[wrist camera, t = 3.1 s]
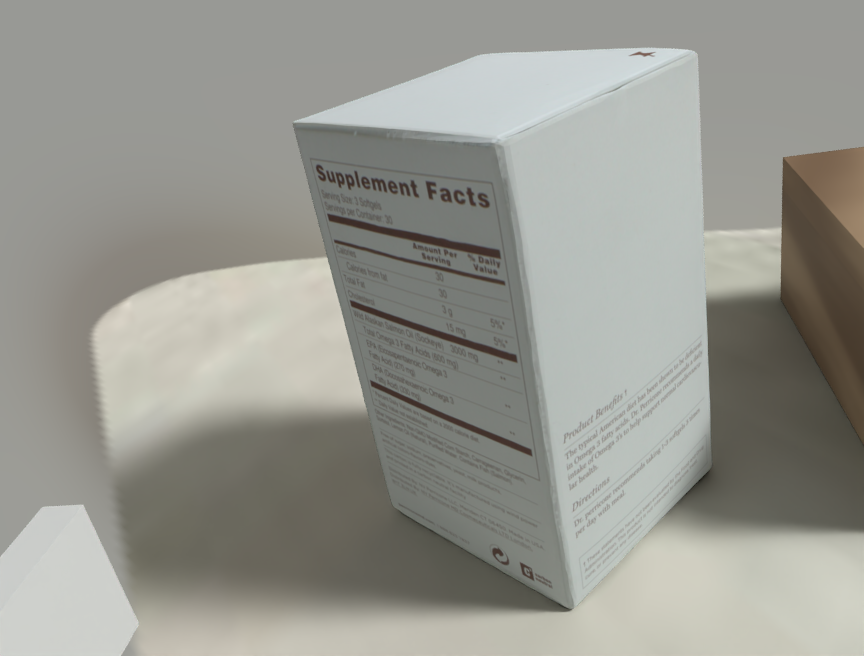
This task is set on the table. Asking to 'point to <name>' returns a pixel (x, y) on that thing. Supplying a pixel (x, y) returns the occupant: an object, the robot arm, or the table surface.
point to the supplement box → (526, 298)
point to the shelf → (827, 266)
